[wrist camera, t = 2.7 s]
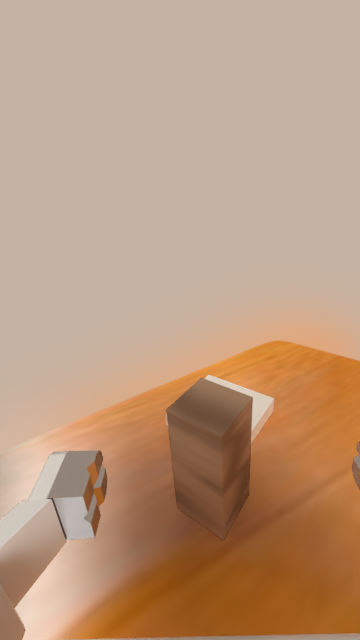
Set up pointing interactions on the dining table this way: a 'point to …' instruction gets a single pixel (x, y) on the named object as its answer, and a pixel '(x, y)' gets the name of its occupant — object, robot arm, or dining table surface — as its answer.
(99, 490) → the robot arm
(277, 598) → the dining table surface
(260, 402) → the off-white board
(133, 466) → the dining table surface
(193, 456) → the walnut block
